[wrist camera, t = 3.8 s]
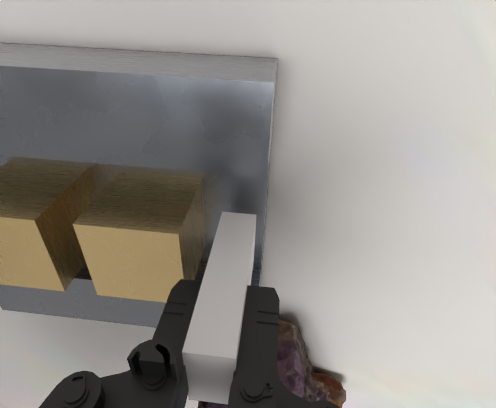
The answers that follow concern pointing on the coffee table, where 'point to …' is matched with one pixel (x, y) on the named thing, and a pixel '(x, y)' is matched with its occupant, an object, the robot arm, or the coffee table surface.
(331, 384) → the rock
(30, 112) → the rail
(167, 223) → the brass block
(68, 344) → the coffee table surface
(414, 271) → the coffee table surface
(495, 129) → the coffee table surface
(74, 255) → the brass block
